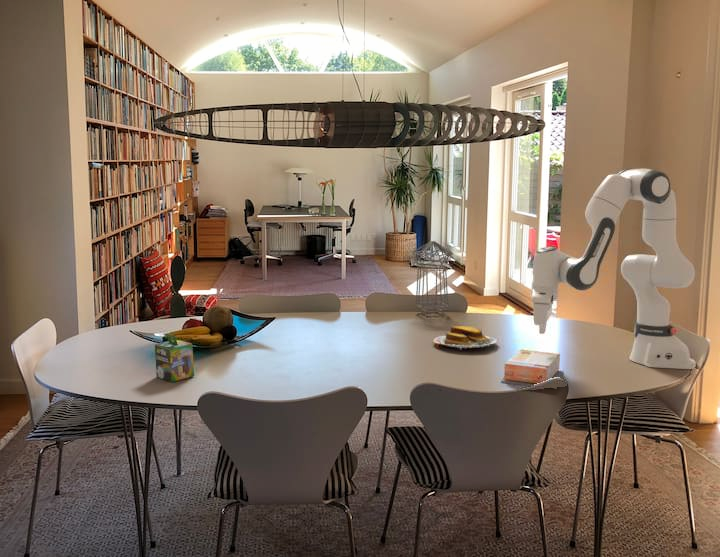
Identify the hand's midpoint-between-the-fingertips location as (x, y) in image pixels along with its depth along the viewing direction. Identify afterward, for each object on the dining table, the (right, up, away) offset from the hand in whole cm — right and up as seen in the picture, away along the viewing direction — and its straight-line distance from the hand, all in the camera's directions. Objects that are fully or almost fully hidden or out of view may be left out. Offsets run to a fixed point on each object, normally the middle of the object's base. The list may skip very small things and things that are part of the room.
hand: (542, 332), depth 253 cm
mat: (-5, -15, -8) cm, 17 cm away
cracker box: (0, -10, +2) cm, 10 cm away
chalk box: (-125, -14, -11) cm, 127 cm away
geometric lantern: (-30, +2, +90) cm, 95 cm away
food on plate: (-22, -8, +34) cm, 41 cm away
